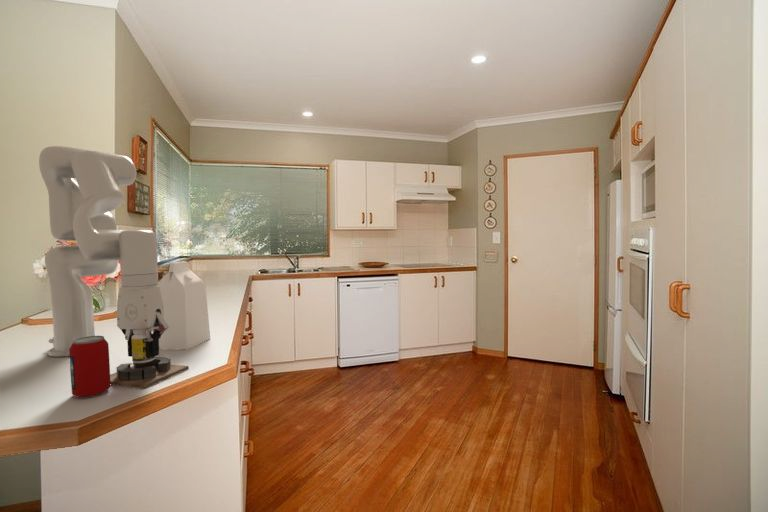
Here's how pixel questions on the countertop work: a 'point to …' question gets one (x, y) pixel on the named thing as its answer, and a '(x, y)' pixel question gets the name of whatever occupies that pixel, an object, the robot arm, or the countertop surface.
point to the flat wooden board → (145, 373)
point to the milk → (183, 308)
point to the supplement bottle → (139, 347)
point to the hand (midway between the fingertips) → (143, 354)
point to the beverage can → (89, 366)
